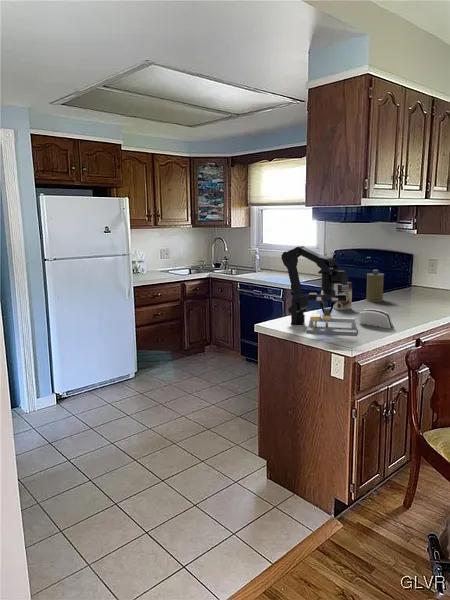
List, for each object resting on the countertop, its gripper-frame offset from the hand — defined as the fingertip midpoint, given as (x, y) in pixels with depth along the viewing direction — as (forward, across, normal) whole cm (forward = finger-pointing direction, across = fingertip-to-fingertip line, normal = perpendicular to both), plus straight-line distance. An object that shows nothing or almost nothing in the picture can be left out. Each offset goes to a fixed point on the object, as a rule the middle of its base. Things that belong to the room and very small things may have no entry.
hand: (327, 313), depth 227 cm
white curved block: (+9, +23, +13) cm, 28 cm away
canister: (+9, +24, +77) cm, 82 cm away
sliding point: (+6, 0, 0) cm, 6 cm away
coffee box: (+9, +5, +51) cm, 52 cm away
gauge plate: (+8, +2, -1) cm, 9 cm away
